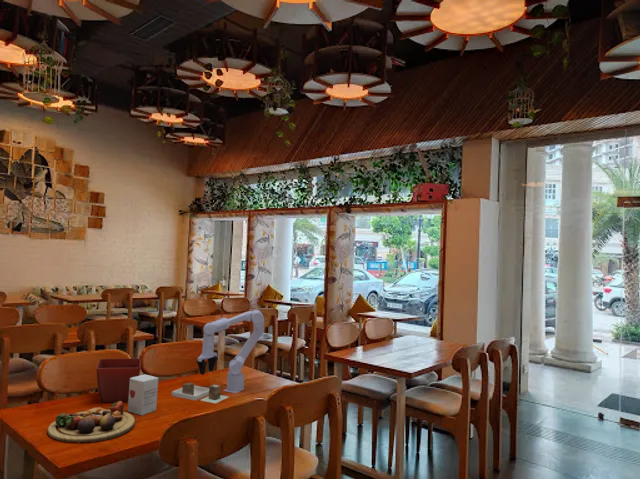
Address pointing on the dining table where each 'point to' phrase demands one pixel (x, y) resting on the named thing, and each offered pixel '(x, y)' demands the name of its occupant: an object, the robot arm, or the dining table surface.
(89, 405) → the dining table surface
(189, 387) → the plain block
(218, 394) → the labelled block
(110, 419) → the wooden plate with food
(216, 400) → the sage mat
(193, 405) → the dining table surface
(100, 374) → the plant pot
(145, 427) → the dining table surface
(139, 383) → the supplement box
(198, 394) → the parts tray
